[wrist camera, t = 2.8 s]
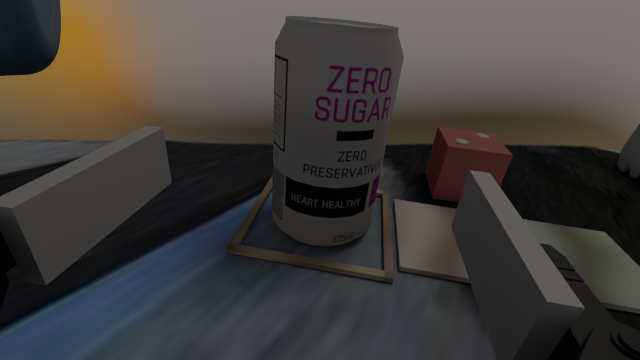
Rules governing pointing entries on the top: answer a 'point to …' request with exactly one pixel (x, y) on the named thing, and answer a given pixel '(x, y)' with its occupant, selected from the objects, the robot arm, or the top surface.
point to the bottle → (631, 155)
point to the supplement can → (331, 125)
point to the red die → (463, 160)
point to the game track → (445, 259)
